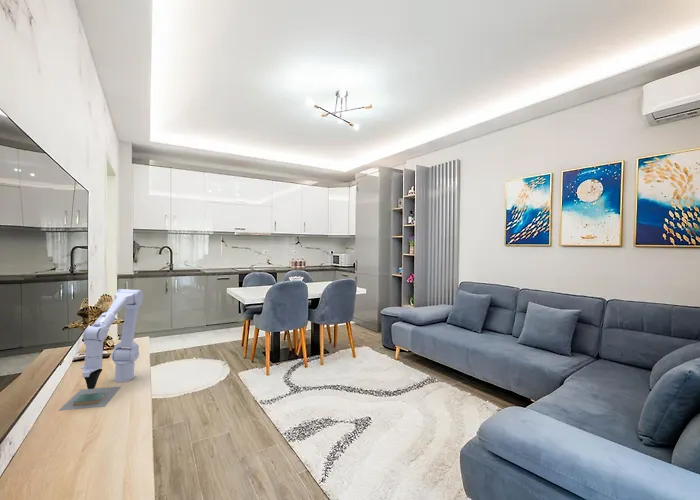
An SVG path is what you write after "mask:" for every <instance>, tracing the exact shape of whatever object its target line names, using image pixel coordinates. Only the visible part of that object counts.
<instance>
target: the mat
mask: <svg viewBox="0 0 700 500" xmlns="http://www.w3.org/2000/svg"><path fill="white" fill-rule="evenodd" d="M120 389H121V386H111V387H95V388H94V389H88V388H81V389H80V390H78V391H77V392H76V393H75V394H74V395H73V396H72V397H71V398H70V399H68V401H67V402H66V403H65V404H63V406H61V407H60V408H59V409H58V411H70V410H81V409H94V408H105V407H107V405H108V403H110V401H111V400H112V399H113V397H114V396H115V395H116V394H117V392H118V391H119V390H120ZM94 393H104V397H103V398H102V399H101V401H100V402H99V403H98V404H91V405H78V406H73V403H74V401H75V400H76V399H77V398H78V397H79V396H80V395H81V394H94Z"/></svg>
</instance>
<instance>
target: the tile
mask: <svg viewBox="0 0 700 500" xmlns="http://www.w3.org/2000/svg"><path fill="white" fill-rule="evenodd" d="M103 397H104V393H94V394H81V395H80V396H79V397H78V398H77V399H76V400H75V401H74V403H73V406H78V405H91V404H98V403H99V402H100V401H101V399H102V398H103Z"/></svg>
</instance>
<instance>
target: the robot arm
mask: <svg viewBox="0 0 700 500" xmlns="http://www.w3.org/2000/svg"><path fill="white" fill-rule="evenodd" d="M143 298H144V294H143V292H142V290H141V289H124V288H118V290H116V292H115V294H114V299H113V301H112V303H111V305H110V307H108V310H107V311H105V312H102V313H101V314H100V315H99V316H98V318H97V319H96V320H95V322H93V324H92V325H89V327H86V328H85V330H84V331H83V333H82V338H83V341H84V345H85V350H84V365H82V366H80V370H83V372H82V376H81V377H82V378H84V380H85V383H86V387H87V388H86V389H94V388H96V386H97V382H98V381H99V380H98V379H99V377H100V375H101V373H102V371H103V353H104V352H103V351H104V340H105V339H106V338H107V337H108V333H109V331H110V328H111V327H112V324H114V322H115V321H116V315H117V314H118V313H119V312H120V311H121V310H122V308H123V307H125V315H124V321H123V325H122V326H123V327H122V332H121V339H120V341H119V342H117V344H115V345H114V347H113V350H112V353H111V360H112V361H113V363H114V364H115V368H114V369H115V370H114V380H113V381H114V382H116V383H124V382H125V383H126V382H129V381H132V379H133V378H136V376H137V374H135V365H136V364H135V362H136V361H137V359H138V358H139V355H140V351H139V346H140V345H139V344H138V343H136V342H135V341H134V339H135V333H136V328H137V320H138V315H139V311H140V310H139V309H140V307H142V304H143V300H144V299H143Z"/></svg>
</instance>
